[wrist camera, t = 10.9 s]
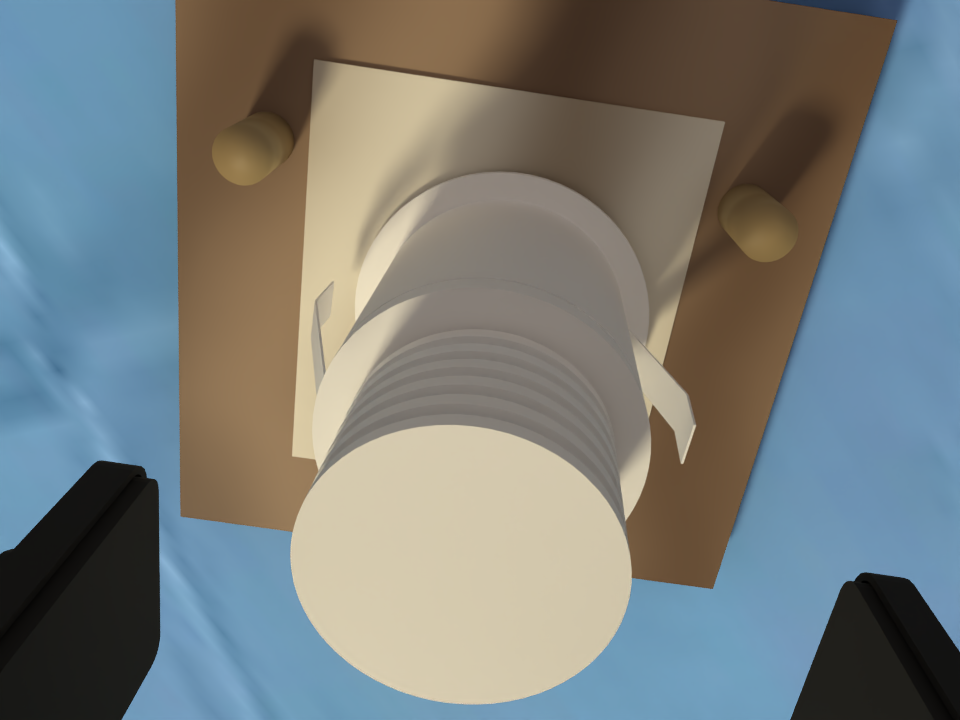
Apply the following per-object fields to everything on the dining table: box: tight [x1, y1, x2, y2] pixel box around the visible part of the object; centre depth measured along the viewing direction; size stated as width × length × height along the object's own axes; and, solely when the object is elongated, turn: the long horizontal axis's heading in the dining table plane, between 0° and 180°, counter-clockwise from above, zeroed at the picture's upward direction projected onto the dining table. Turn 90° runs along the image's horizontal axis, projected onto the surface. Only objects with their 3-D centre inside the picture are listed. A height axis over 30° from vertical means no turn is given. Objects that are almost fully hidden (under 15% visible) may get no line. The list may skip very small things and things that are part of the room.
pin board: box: [176, 0, 897, 589], centre depth 20 cm, size 15×15×3 cm
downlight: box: [290, 171, 696, 704], centre depth 16 cm, size 8×7×10 cm
